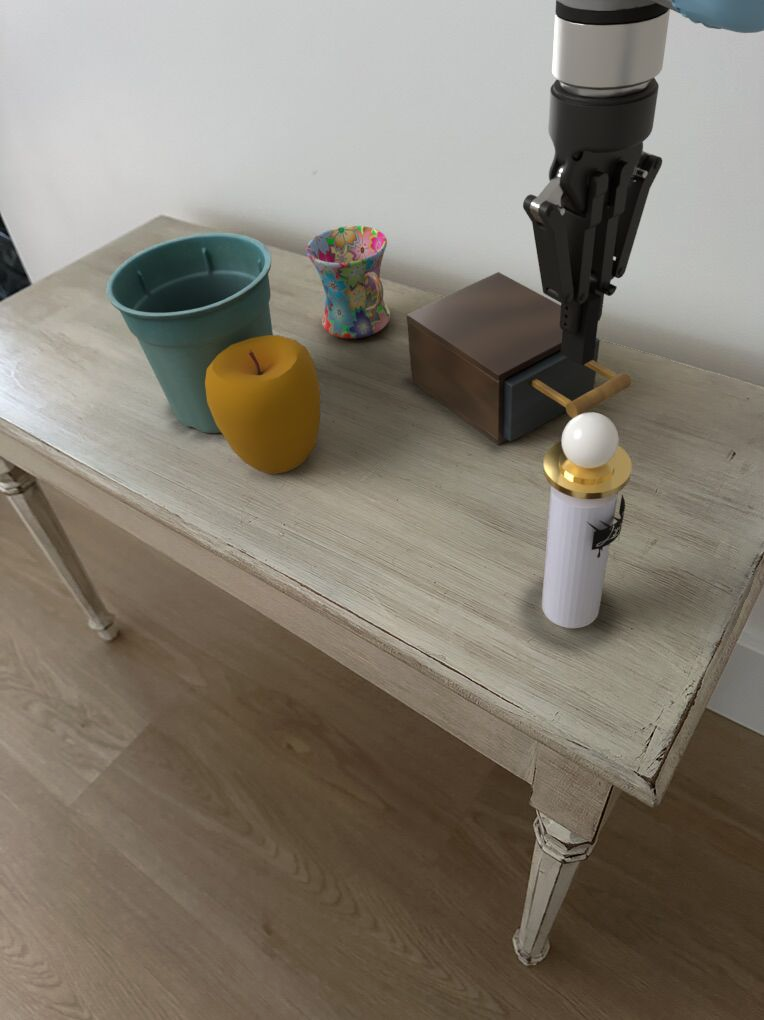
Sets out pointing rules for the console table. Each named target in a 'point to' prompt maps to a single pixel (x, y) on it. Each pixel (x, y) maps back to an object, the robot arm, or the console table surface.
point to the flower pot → (193, 310)
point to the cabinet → (481, 346)
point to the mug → (351, 280)
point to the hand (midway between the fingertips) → (577, 356)
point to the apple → (266, 401)
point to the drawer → (555, 391)
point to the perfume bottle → (581, 517)
